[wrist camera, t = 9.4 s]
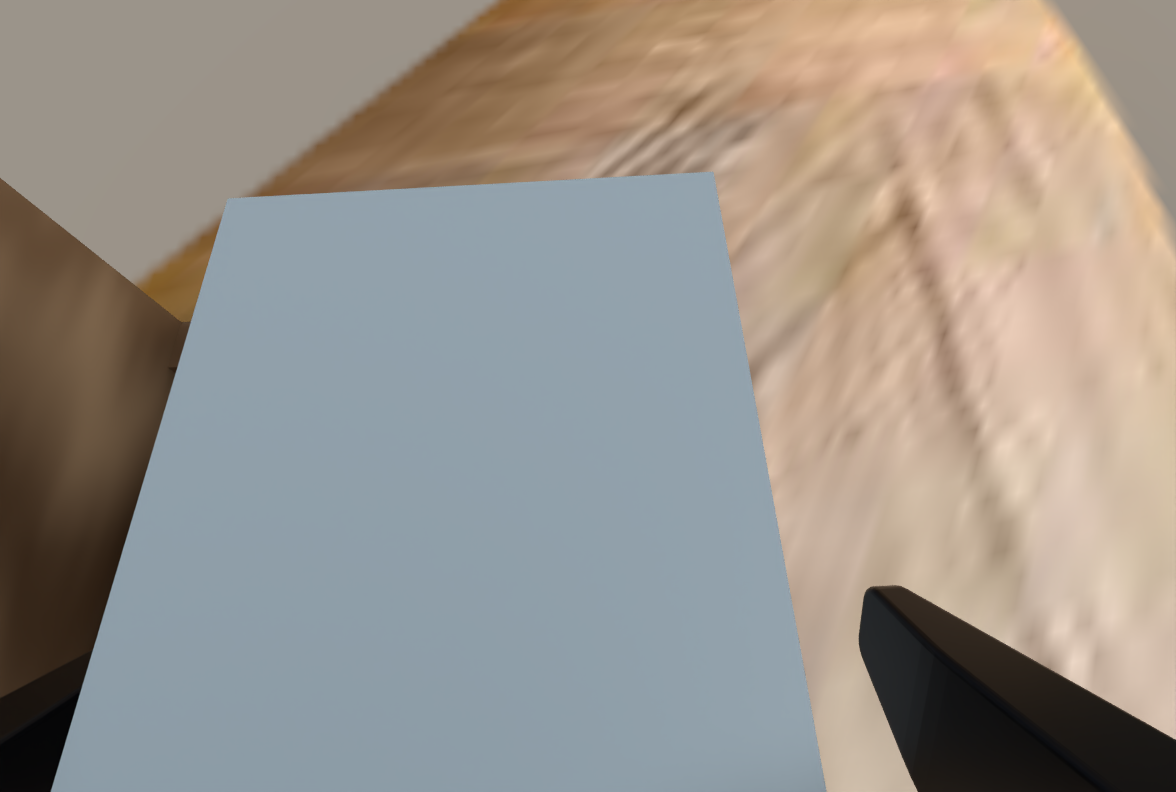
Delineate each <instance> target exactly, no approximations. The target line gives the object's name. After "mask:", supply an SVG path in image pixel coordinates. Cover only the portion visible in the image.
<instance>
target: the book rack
mask: <svg viewBox="0 0 1176 792" xmlns="http://www.w3.org/2000/svg"><path fill="white" fill-rule="evenodd" d="M190 324H191V322H180V321H179V320H178V319H176V318H175V317H174V316H173V315H171V314H170V313H169V312H168V311H166V310H165V309H164V308H163V307H161V306H160V305H159V304H158V303H156V302H155V301H154V300H153V299H151V298H150V297H149V296H148V295H146V294H145V293H144V292H143V291H141V290H140V289H139V288H138V287H136V286H135V285H134V284H133V283H131V282H130V281H129V280H128V279H126V278H125V277H124V276H122V275H121V274H120V273H119V272H117V271H116V270H115V269H114V268H112V267H111V266H110V265H109V264H107V263H106V262H105V261H104V260H102V259H101V258H100V257H99V256H97V255H96V254H95V253H94V252H92V251H91V250H90V249H89V248H87V247H86V246H85V245H84V244H82V243H81V242H80V241H78V240H77V239H76V238H75V237H74V236H72V235H71V234H70V233H68V232H67V231H66V230H65V229H63V228H62V227H61V226H60V225H58V224H57V223H56V222H55V221H53V220H52V219H51V218H49V217H48V216H47V215H46V214H45V213H43V212H42V211H41V210H39V209H38V208H37V207H36V206H35V205H33V204H32V203H31V202H29V201H28V200H27V199H26V198H24V197H23V196H22V195H21V194H19V193H18V192H17V191H16V190H15V189H13V188H12V187H11V186H9V185H8V184H7V183H6V182H4V181H3V180H2V179H1V178H0V698H1V697H3V696H5V695H7V694H9V693H11V692H12V691H14V690H16V689H18V688H20V687H22V686H24V685H26V684H28V683H30V682H32V681H33V680H35V679H37V678H39V677H41V676H43V675H45V674H47V673H49V672H51V671H52V670H54V669H56V668H58V667H60V666H62V665H64V664H66V663H68V662H70V661H71V660H73V659H75V658H77V657H79V656H81V655H83V654H85V653H87V652H89V651H91V650H92V649H94V645H95V642H96V639H97V635H98V632H99V629H100V625H101V622H102V619H103V615H104V612H105V609H106V605H107V602H108V598H109V595H110V592H111V588H112V585H113V582H114V578H115V575H116V572H117V568H118V565H119V562H120V558H121V555H122V552H123V548H124V545H125V542H126V538H127V535H128V531H129V528H130V525H131V521H132V518H133V515H134V511H135V508H136V505H137V501H138V498H139V495H140V491H141V488H142V485H143V481H144V478H145V474H146V471H147V468H148V464H149V461H150V458H151V454H152V451H153V448H154V444H155V441H156V438H157V434H158V431H159V428H160V424H161V421H162V418H163V414H164V411H165V407H166V404H167V401H168V397H169V394H170V391H171V387H172V384H173V381H174V377H175V374H176V371H177V367H178V364H179V361H180V357H181V354H182V351H183V347H184V344H185V340H186V337H187V334H188V330H189V327H190Z"/></svg>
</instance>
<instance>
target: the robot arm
mask: <svg viewBox="0 0 1176 792" xmlns="http://www.w3.org/2000/svg"><path fill="white" fill-rule="evenodd" d="M859 647H860V652H861V655H862V658H863V661H864V663H865V666H866V668H867V671H868V673H869V676H870V678H871V681H872V683H873V686H874V688H875V691H876V693H877V696H878V698H879V701H880V703H881V706H882V708H883V710H884V713H885V715H886V718H887V720H888V723H889V725H890V728H891V730H892V733H893V735H894V738H895V740H896V743H897V745H898V748H899V750H900V753H901V755H902V758H903V760H904V762H905V765H906V767H907V769H908V772H909V774H910V776H911V778H912V780H913V783H914V785H915V787H916V789H917V791H918V792H1176V740H1175V739H1173V738H1172V737H1170V736H1168V735H1166V734H1165V733H1163V732H1161V731H1159V730H1157V729H1156V728H1154V727H1152V726H1150V725H1148V724H1147V723H1145V722H1143V721H1141V720H1140V719H1138V718H1136V717H1134V716H1132V715H1131V714H1129V713H1127V712H1125V711H1124V710H1122V709H1120V708H1118V707H1116V706H1115V705H1113V704H1111V703H1109V702H1107V701H1106V700H1104V699H1102V698H1100V697H1099V696H1097V695H1095V694H1093V693H1091V692H1090V691H1088V690H1086V689H1084V688H1083V687H1081V686H1079V685H1077V684H1075V683H1074V682H1072V681H1070V680H1068V679H1066V678H1065V677H1063V676H1061V675H1059V674H1058V673H1056V672H1054V671H1052V670H1050V669H1049V668H1047V667H1045V666H1043V665H1041V664H1040V663H1038V662H1036V661H1034V660H1033V659H1031V658H1029V657H1027V656H1025V655H1024V654H1022V653H1020V652H1018V651H1017V650H1015V649H1013V648H1011V647H1009V646H1008V645H1006V644H1004V643H1002V642H1000V641H999V640H997V639H995V638H993V637H992V636H990V635H988V634H986V633H984V632H983V631H981V630H979V629H977V628H976V627H974V626H972V625H970V624H968V623H967V622H965V621H963V620H961V619H959V618H958V617H956V616H954V615H952V614H951V613H949V612H947V611H945V610H943V609H942V608H940V607H938V606H936V605H935V604H933V603H931V602H929V601H927V600H926V599H924V598H922V597H920V596H918V595H917V594H915V593H913V592H911V591H910V590H908V589H906V588H904V587H902V586H897V585H892V586H873V587H870V588H868V589H867V590H866V592H865V595H864V599H863V607H862V615H861V622H860V630H859ZM92 652H93V649H92V650H91V651H89V652H87V653H85V654H83V655H81V656H79V657H77V658H75V659H73V660H71V661H70V662H68V663H66V664H64V665H62V666H60V667H58V668H56V669H54V670H52V671H51V672H49V673H47V674H45V675H43V676H41V677H39V678H37V679H35V680H33V681H32V682H30V683H28V684H26V685H24V686H22V687H20V688H18V689H16V690H14V691H12V692H11V693H9V694H7V695H5V696H3V697H1V698H0V792H51V789H52V786H53V783H54V779H55V776H56V773H57V769H58V766H59V763H60V759H61V756H62V753H63V749H64V746H65V743H66V739H67V736H68V733H69V729H70V726H71V722H72V719H73V716H74V712H75V709H76V706H77V702H78V699H79V696H80V692H81V689H82V686H83V682H84V679H85V676H86V672H87V669H88V665H89V662H90V659H91V655H92Z"/></svg>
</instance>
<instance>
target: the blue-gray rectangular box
mask: <svg viewBox="0 0 1176 792" xmlns="http://www.w3.org/2000/svg"><path fill="white" fill-rule="evenodd" d="M51 792H826V786H825V781H824V775H823V770H822V765H821V759H820V754H819V748H818V743H817V737H816V732H815V726H814V721H813V715H812V710H811V704H810V699H809V693H808V688H807V682H806V677H805V671H804V666H803V660H802V655H801V649H800V644H799V639H798V633H797V628H796V622H795V617H794V611H793V606H792V600H791V595H790V589H789V584H788V578H787V573H786V567H785V562H784V556H783V551H782V545H781V540H780V534H779V529H778V524H777V518H776V513H775V507H774V502H773V496H772V491H771V485H770V480H769V474H768V469H767V463H766V458H765V452H764V447H763V441H762V436H761V430H760V425H759V419H758V414H757V409H756V403H755V398H754V392H753V387H752V381H751V376H750V370H749V365H748V359H747V354H746V348H745V343H744V337H743V332H742V326H741V321H740V315H739V310H738V304H737V299H736V293H735V288H734V283H733V277H732V272H731V266H730V261H729V255H728V250H727V244H726V239H725V233H724V228H723V222H722V217H721V211H720V206H719V200H718V195H717V189H716V184H715V178H714V173H713V172H701V173H683V174H665V175H647V176H628V177H610V178H592V179H574V180H556V181H538V182H520V183H502V184H484V185H466V186H447V187H429V188H411V189H393V190H375V191H357V192H339V193H321V194H303V195H284V196H266V197H248V198H230V199H228V200H227V203H226V206H225V210H224V213H223V216H222V220H221V223H220V227H219V230H218V233H217V237H216V240H215V243H214V247H213V250H212V253H211V257H210V260H209V263H208V267H207V270H206V273H205V277H204V280H203V283H202V287H201V290H200V294H199V297H198V300H197V304H196V307H195V310H194V314H193V317H192V320H191V324H190V327H189V330H188V334H187V337H186V340H185V344H184V347H183V351H182V354H181V357H180V361H179V364H178V367H177V371H176V374H175V377H174V381H173V384H172V387H171V391H170V394H169V397H168V401H167V404H166V407H165V411H164V414H163V418H162V421H161V424H160V428H159V431H158V434H157V438H156V441H155V444H154V448H153V451H152V454H151V458H150V461H149V464H148V468H147V471H146V474H145V478H144V481H143V485H142V488H141V491H140V495H139V498H138V501H137V505H136V508H135V511H134V515H133V518H132V521H131V525H130V528H129V531H128V535H127V538H126V542H125V545H124V548H123V552H122V555H121V558H120V562H119V565H118V568H117V572H116V575H115V578H114V582H113V585H112V588H111V592H110V595H109V598H108V602H107V605H106V609H105V612H104V615H103V619H102V622H101V625H100V629H99V632H98V635H97V639H96V642H95V645H94V649H93V652H92V655H91V659H90V662H89V665H88V669H87V672H86V676H85V679H84V682H83V686H82V689H81V692H80V696H79V699H78V702H77V706H76V709H75V712H74V716H73V719H72V722H71V726H70V729H69V733H68V736H67V739H66V743H65V746H64V749H63V753H62V756H61V759H60V763H59V766H58V769H57V773H56V776H55V779H54V783H53V786H52V789H51Z"/></svg>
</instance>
